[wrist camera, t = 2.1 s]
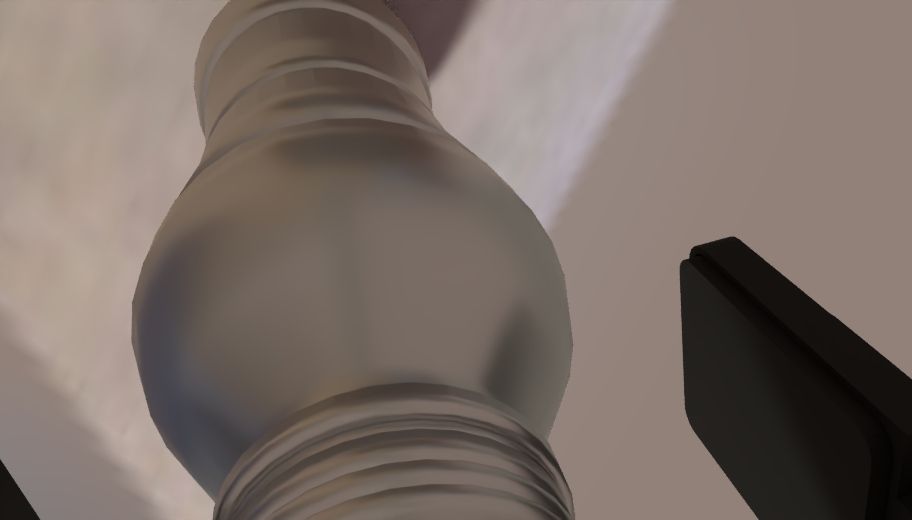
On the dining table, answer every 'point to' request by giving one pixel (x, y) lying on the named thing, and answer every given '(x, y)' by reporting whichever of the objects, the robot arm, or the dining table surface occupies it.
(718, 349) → the robot arm
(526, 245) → the plastic bottle
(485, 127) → the dining table surface
